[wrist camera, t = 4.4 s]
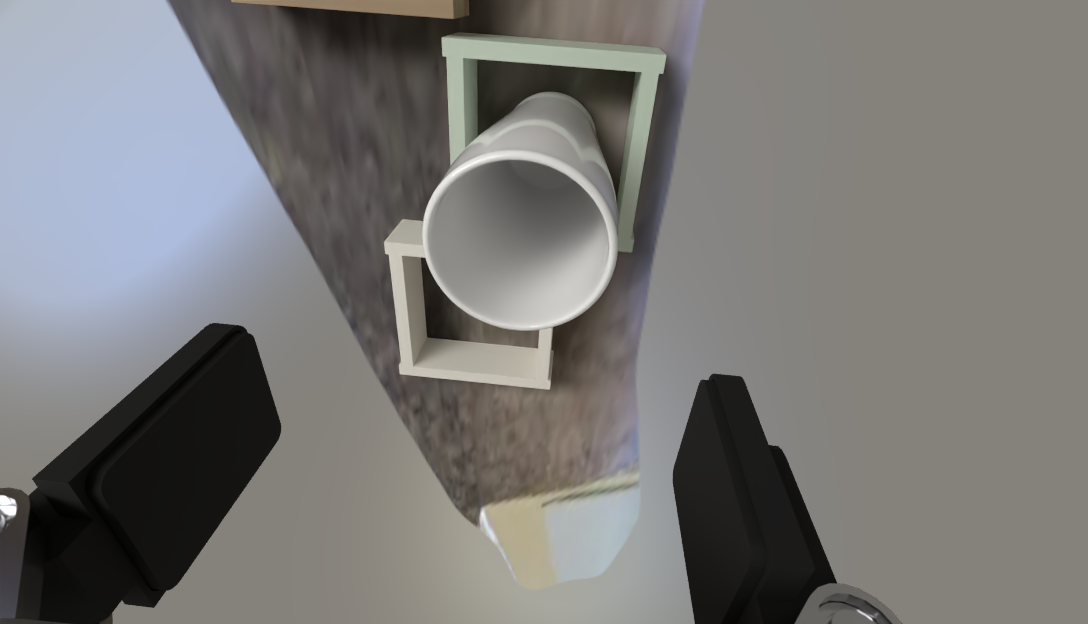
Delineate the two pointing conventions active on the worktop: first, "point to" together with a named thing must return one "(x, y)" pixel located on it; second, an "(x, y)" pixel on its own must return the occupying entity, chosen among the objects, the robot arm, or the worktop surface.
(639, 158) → the sage frame
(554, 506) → the worktop surface
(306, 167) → the worktop surface
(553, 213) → the white cup
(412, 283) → the cream frame
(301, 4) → the beech frame
